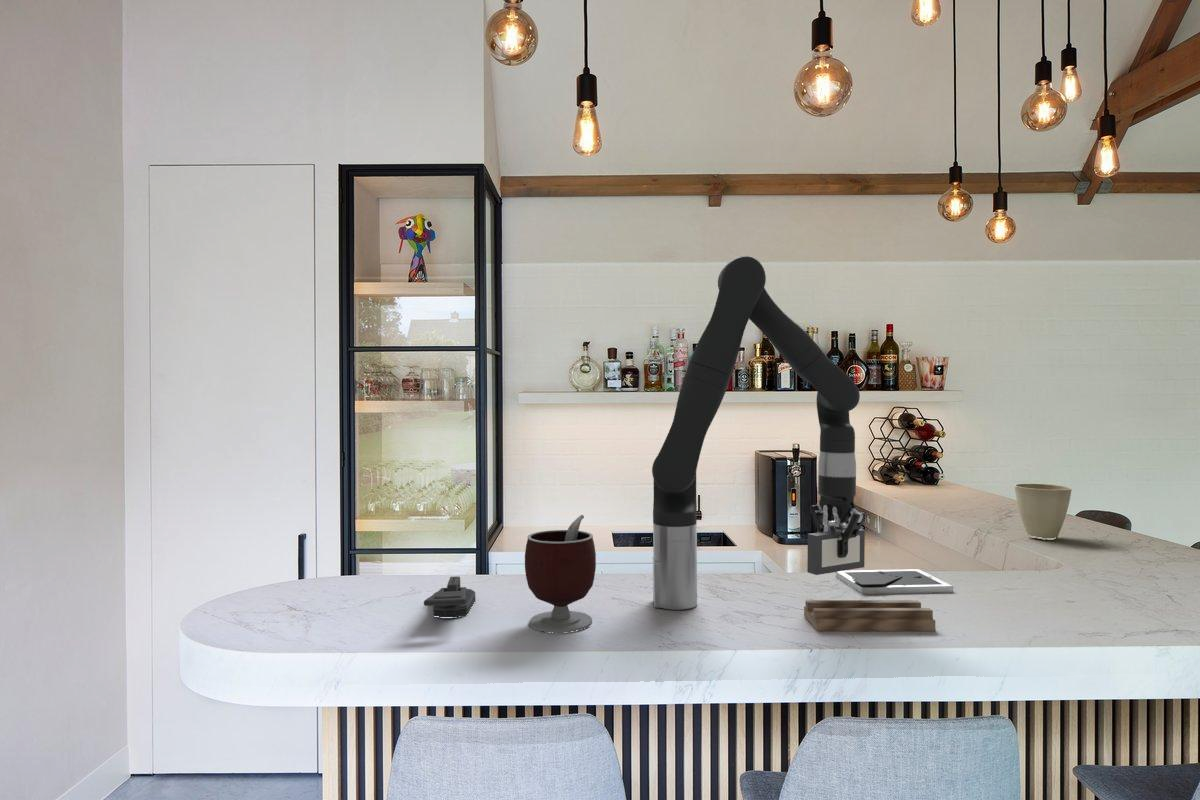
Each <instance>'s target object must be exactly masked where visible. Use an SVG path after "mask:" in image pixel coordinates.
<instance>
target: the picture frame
mask: <svg viewBox="0 0 1200 800" xmlns="http://www.w3.org/2000/svg"><path fill="white" fill-rule="evenodd" d="M836 576H837V577H836ZM835 577H836V578H837V579H838V580H840V579H841V580H840V581H842V582H843V583H844V584H846V583H847V584H846V585H848V584H849V585H850V586H849V585H848V586H849V587H851V586H852V587H853V588H852V587H851V588H852V589H854V590H855V589H856V590H855V591H856V592H858V591H859V592H858V593H859V594H861V595H875V594H876V595H877V594H878V595H879V593H888V594H929V593H930V594H932V592H940V593H954V585H951V584H950V583H948V582H946V581H944V580H942V579H941V578H940V579H939V578H937V577H935V576H933V575H931V574H929V573H927V572H925V571H923V570H921V569H918V568H917V569H916V568H915V569H868V570H867V569H866V570H865V569H864V570H863V569H861V570H858V569H852V570H845V571H839V572H835Z"/></svg>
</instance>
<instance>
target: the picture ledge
mask: <svg viewBox="0 0 1200 800" xmlns="http://www.w3.org/2000/svg"><path fill="white" fill-rule="evenodd" d="M804 602H805V606H803V616H805V617H806V618H805V617H804V618H805V619H806V621H808V623H809V622H810V623H811V624H812V625H811V624H810V623H809V624H810V625H811V627H812V628H813V629H816V630H815V631H816V632H936V619H934V618H933V617H934V615H933V613H934V612H933V609H931V608H930V607H922V602H921V601H919V600H916V599H913V600H912V599H909V600H907V599H904V600H902V599H901V600H899V599H898V600H897V599H895V600H894V599H893V600H892V599H890V600H889V599H886V600H885V599H884V600H883V599H882V600H879V599H872V600H871V599H870V600H869V599H865V600H858V599H857V600H856V599H855V600H852V599H851V600H848V599H846V600H844V599H843V600H838V599H837V600H836V599H835V600H833V599H832V600H826V599H825V600H820V599H819V600H816V599H815V600H814V599H813V600H811V599H809V600H806V599H805V601H804Z"/></svg>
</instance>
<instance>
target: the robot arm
mask: <svg viewBox="0 0 1200 800" xmlns="http://www.w3.org/2000/svg"><path fill="white" fill-rule="evenodd" d="M766 278H767V276H766V270H765V268H764V266H763V265H762V263H761V262H760V261H759V260H758V259H756V258H755V257H753V256H748V255H744V256H739V257H736V258H733V259H732V260H730V261H729V262H727V264H726V265H725V266H724V267H723V268H722V269H721V271H720V273H719V275H718V277H717V288H718V293H717V297H716V301H715V305H714V308H713V311H712V315H711V317H710V319H709V321H708V324H707V325H706V327H705V328H704V331H703V332H702V334H701V336H700V338H699V340H698V342H697V343H696V346H695V348H694V349H693V352H692V354H691V357H690V359H689V362H688V365H687V368H686V371H685V373H684V376H683V380H682V383H681V387H680V389H679V393H678V397H677V402H676V407H675V412H674V416H673V420H672V422H671V426H670V429H669V430H668V434H667V435H666V437H665V439H664V442H663V444H662V446H661V448H660V449H659V452H658V454H657V456H656V457H655V458H654V461H653V463H652V465H651V466H652V467H651V473H652V474H651V475H652V478H653V504H652V506H653V507H652V529H653V530H652V534H653V535H652V537H653V538H652V540H653V541H652V542H653V543H652V545H653V546H652V547H653V550H652V551H653V556H652V601H653V606H654V608H656V609H657V608H658V609H659V608H660V609H665V610H674V611H675V610H679V611H680V610H689V609H693V608H695V607H697V605H698V545H697V544H698V538H697V536H698V535H697V533H698V532H697V531H698V530H697V528H698V527H697V526H698V525H697V524H698V523H697V521H698V520H697V514H698V512H697V507H698V505H697V503H698V502H697V469H698V465H699V460H700V456H701V452H702V448H703V445H704V442H705V438H706V435H707V433H708V431H709V428H710V427H711V425H712V422H713V421H714V418H715V417H716V414H717V412H718V411H719V409H720V407H721V404H722V401H723V399H724V397H725V395H726V392H727V389H728V386H729V383H730V380H731V379H732V375H733V372H734V370H735V365H736V362H737V359H738V356H739V352H740V348H741V344H742V340H743V338H744V337H743V336H744V333H745V330H746V327H747V326H748V322H749V321H751V322H752V323H753V324H754V325H755V326H756V327H757V328H758V329H759V331H760V332H761V333H763V335H764V336H765V337H766V338H767V340H768V341H769V342H770V343H771V345H773V347H774V348H775V349H776V351H777V352H778V353H779V354H780V355H781V356H782V358H783V359H784V361H786V363H787V364H788V365H789V366H790V367H791V368H792V370H793V371H794V372H795V373H796V374H797V376H799V377H800V378H801V379H802V380H803V381H805V382H806V383H807V382H808V383H809V384H810V385H811V386H812V387H813V388H814V389H815V390H816V392H817V393H816V410H817V411H816V412H817V418H818V424H819V431H820V434H819V457H818V464H817V465H818V468H817V469H818V473H817V474H818V477H817V479H818V480H817V482H818V484H817V485H818V486H817V488H818V489H817V490H818V491H817V493H818V495H819V496H820V499H819V501H818V502H819V503H816V504H815V505H814V504H813V505H810V506H809V510H810V514H811V516H812V520H813V522H814V525H815V528H816V530H817V533H818V532H827V531H835V530H837V538H838V540H837V557H839V558H844V557H846V556H847V554H848V540H849V539H850V538H854V537H856V536H857V534H858V532H859V530H860V529H862V528H861V527H862V525H863V523H864V521H865V518H866V514H865V512H859V511H858V510H857V509H856V504H855V503H854V502H855V501H854V498H855V497H856V496H857V495H856V494H857V462H856V461H857V460H856V432H855V429H854V427H853V425H851V423H850V411H852V410H854V409H855V408H856V407H857V406H858V404H859V401H860V397H861V395H860V390H859V388H858V386H857V384H856V383H855V382H854V380H853V379H852V378H851V376H849V375H848V374H847V373H846V372H845V371H844V370H842V368H841V367H839V366H838V365H837V364H836V363H835V362H833V361H832V360H831V359H830V358H829V357H828V355H827V354H826V353H825V352H824V351H823V350H822V348H821V347H820V346H819V344H817V342H816V341H815V340H814V339H813V338H812V336H811V335H810V334H808V332H807V331H806V330H805V329H803V328H802V326H800V325H799V324H798V323H797V322H795V320H793V319H792V318H791V317H790V316H788V315H787V314H786V312H784V311H783V310H782V309H781V308H780V307H779V306H778V304H776V302H775V301H774V300H773V298H772V297H771V296H770V294H769V293H768V291H767V290H766V288H765V286H766V282H767V281H766V280H767V279H766ZM843 531H844V533H843Z"/></svg>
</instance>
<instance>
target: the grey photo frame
mask: <svg viewBox="0 0 1200 800" xmlns="http://www.w3.org/2000/svg"><path fill="white" fill-rule="evenodd" d="M843 533H844V531H843ZM865 535H866V530H865V529H862V528H860V530H859V532H858V534H857V536H856V537H854V538H850V539H849V540H848V554H847V556H846V557H844V558H839V557H837V540H838V538H837V529H836V530H835V531H827V532H818V531H817V532H813V533H807V562H806V563H807V570H806V571H807V573H808V574H813V575H815V576H819V575H824V574H831V573H836V572H839V571H852V570H858V569H861V568H862V569H863V568H865V560H866V559H865V556H866V553H865V551H866V550H865V545H866V544H865V542H866V541H865V540H866V539H865Z"/></svg>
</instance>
